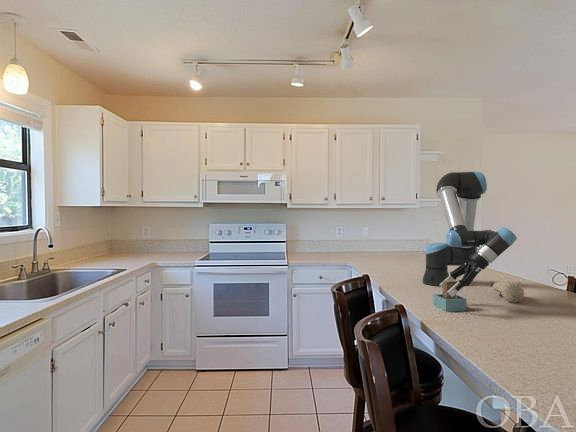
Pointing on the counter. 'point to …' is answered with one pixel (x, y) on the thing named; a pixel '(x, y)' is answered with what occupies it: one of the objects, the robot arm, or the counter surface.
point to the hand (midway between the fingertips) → (445, 290)
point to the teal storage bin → (450, 303)
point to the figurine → (509, 290)
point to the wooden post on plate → (446, 287)
